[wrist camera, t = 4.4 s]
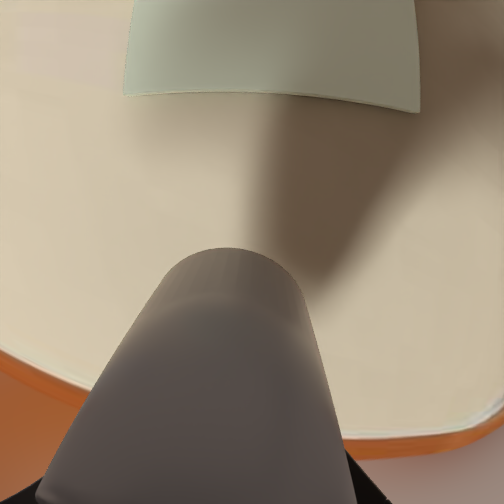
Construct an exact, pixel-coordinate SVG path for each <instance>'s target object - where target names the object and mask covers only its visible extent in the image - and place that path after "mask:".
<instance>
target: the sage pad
mask: <svg viewBox="0 0 504 504" xmlns="http://www.w3.org/2000/svg"><path fill="white" fill-rule="evenodd" d="M186 92H257V93H276V94H290V95H302V96H312V97H321V98H329V99H337V100H344V101H351V102H357V103H363V104H369V105H375V106H380V107H385V108H390V109H395V110H400V111H404V112H409V113H413V114H415V113H420V61H419V44H418V32H417V22H416V13H415V5H414V0H135V1H134V6H133V12H132V18H131V25H130V31H129V39H128V47H127V55H126V64H125V75H124V87H123V95H125V96H128V97H132V96H141V95H153V94H167V93H186Z"/></svg>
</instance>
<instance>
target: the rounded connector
mask: <svg viewBox="0 0 504 504" xmlns="http://www.w3.org/2000/svg"><path fill="white" fill-rule="evenodd" d="M35 497H36V501H37V502H38V504H357V501H356V496H355V492H354V487H353V483H352V478H351V474H350V470H349V465H348V461H347V457H346V453H345V449H344V444H343V440H342V436H341V432H340V428H339V424H338V420H337V416H336V412H335V408H334V405H333V401H332V397H331V393H330V389H329V385H328V382H327V378H326V374H325V371H324V367H323V363H322V359H321V356H320V352H319V349H318V345H317V341H316V338H315V334H314V331H313V327H312V324H311V320H310V317H309V313H308V310H307V306H306V303H305V300H304V297H303V295H302V292H301V290H300V288H299V287H298V285H297V283H296V282H295V280H294V279H293V278H292V277H291V275H290V274H289V273H288V272H287V271H286V270H284V269H283V268H282V267H281V266H280V265H278V264H277V263H275V262H274V261H272V260H271V259H269V258H267V257H265V256H263V255H260V254H258V253H255V252H252V251H248V250H244V249H237V248H215V249H208V250H205V251H201V252H198V253H195V254H193V255H191V256H188V257H187V258H185V259H183V260H182V261H180V262H179V263H178V264H176V265H175V266H174V267H173V268H172V269H171V270H170V271H169V272H168V273H167V274H166V275H165V277H164V278H163V280H162V281H161V283H160V284H159V286H158V287H157V289H156V290H155V291H154V293H153V294H152V296H151V297H150V299H149V300H148V302H147V303H146V305H145V306H144V308H143V309H142V311H141V312H140V314H139V315H138V317H137V318H136V320H135V321H134V323H133V325H132V326H131V328H130V329H129V331H128V332H127V334H126V335H125V337H124V338H123V340H122V342H121V343H120V345H119V346H118V348H117V350H116V351H115V353H114V354H113V356H112V357H111V359H110V361H109V362H108V364H107V366H106V367H105V369H104V370H103V372H102V374H101V375H100V377H99V379H98V380H97V382H96V384H95V385H94V387H93V389H92V390H91V392H90V394H89V395H88V397H87V399H86V400H85V402H84V404H83V405H82V407H81V409H80V411H79V412H78V414H77V416H76V418H75V419H74V421H73V423H72V425H71V426H70V428H69V430H68V432H67V434H66V435H65V437H64V439H63V441H62V443H61V444H60V446H59V448H58V450H57V452H56V454H55V456H54V458H53V459H52V461H51V463H50V465H49V467H48V469H47V471H46V473H45V475H44V477H43V479H42V481H41V483H40V485H39V487H38V489H37V491H36V493H35Z"/></svg>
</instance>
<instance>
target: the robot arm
mask: <svg viewBox="0 0 504 504" xmlns="http://www.w3.org/2000/svg"><path fill="white" fill-rule="evenodd" d="M344 449H345V448H344ZM345 453H346V457H347V461H348V465H349V470H350V474H351V478H352V483H353V487H354V492H355V496H356V501H357V504H392V503H391V502H390V500H386V499H387V497H386V496H385V495H384V494H383V493H382V492H381V490H380V489H379V488H378V487H377V486H376V485H375V484H374V483H373V481H372V480H371V479H370V478H369V477H368V476H367V474H366V473H365V472H364V471H363V470H362V469H361V467H360V466H359V465H358V464H357V463H356V461H355V460H354V459H353V458H352V457H351V456H350V454H349V453H348V452H347V451H346V450H345ZM43 477H44V476H43ZM43 477H41V478H40V479H39V480H37V481H36V482H34V483H33V484H31V485H30V486H28V487H27V488H25V489H23V490H22V491H20V492H18V493H16V494H15V495H13V496H11V497H9V498H7V499H5V500H3V501H1V502H0V504H38V502H37V501H36V497H35V493H36V491H37V489H38V487H39V485H40V483H41V481H42V479H43Z"/></svg>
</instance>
